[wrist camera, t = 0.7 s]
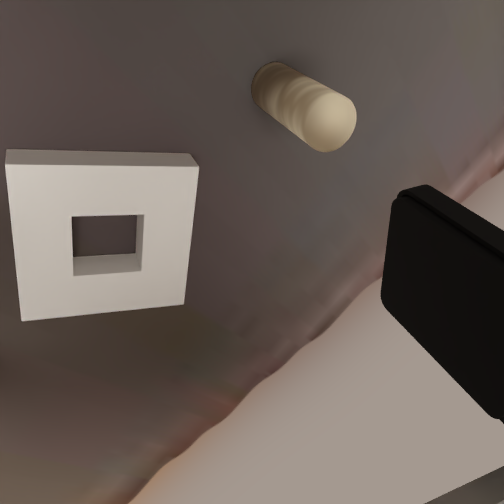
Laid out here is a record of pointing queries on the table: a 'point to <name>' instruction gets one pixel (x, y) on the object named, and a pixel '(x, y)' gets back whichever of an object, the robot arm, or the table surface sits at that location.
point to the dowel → (304, 106)
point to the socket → (99, 204)
